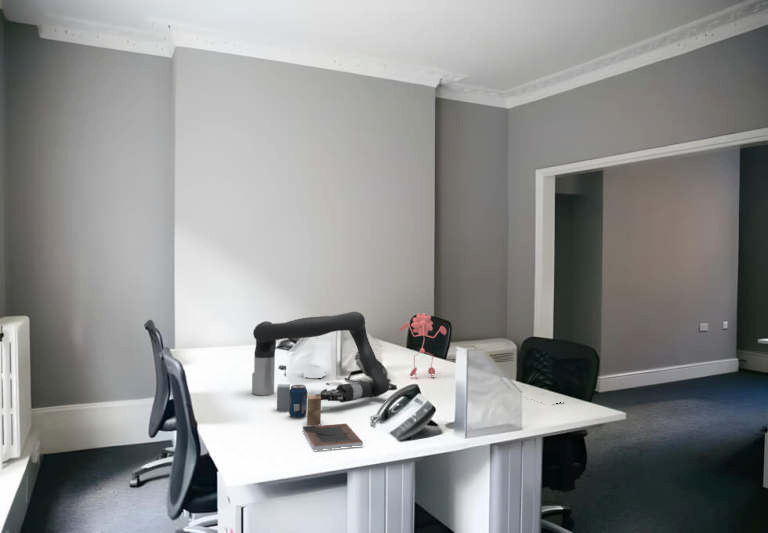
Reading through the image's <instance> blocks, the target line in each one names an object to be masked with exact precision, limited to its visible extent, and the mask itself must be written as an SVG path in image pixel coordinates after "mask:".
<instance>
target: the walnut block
mask: <svg viewBox="0 0 768 533" xmlns="http://www.w3.org/2000/svg"><path fill="white" fill-rule="evenodd" d="M321 410H322V400H321V395H318V394H314V395H307V413H306V426H320V425H321V419H322V414H321V413H322V412H321ZM319 424H320V425H319Z"/></svg>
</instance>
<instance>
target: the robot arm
mask: <svg viewBox="0 0 768 533" xmlns="http://www.w3.org/2000/svg"><path fill="white" fill-rule="evenodd" d="M366 330H367V329H366V320H365V317H364V315H363V313H361V312H358V311H350V312H345V313H341V314H337V315H336V314H335V315H323V316H311V317H302V318H297V319H294V320H289V321H285V322H278V323H275V322H273V323H272V322H271V321H262V322H260V323H258V324H257V325H256V326H255V327H254V329H253V333H252V334H253V338H254V339H255V340H256V341H255V348H254V359H253V361H254V362H253V364H254V365H253V368H254V370H253V371H254V372H252V373H251V382H252V383H251V394H254V395H255V396H270V394H271V395H274V394H275V370H276V369H275V363H276V362H275V361H276V360H275V358H276V357H275V355H276V347H277V346H276V344H277V341H279V340H284V339H287V340H288V339H306V338H307V339H309V338H315V337H321V336H323V335H328V334H329V333H334V332H344V331H348V332H349V333H350V335H351V338H352V339H353V341H354V343H355V346H356V348H357V352H358V356H359V359H360V362H361V366H362V368H363V371H364V372H365V375H366V376H367V377H372V378H373V380H372V381H371V382H368V381H358V382H349V383H342V384H339V385H337V387H336V388H331V389H330V390H328V389H327V388H325V389H322V390H321V391H320V393H319V394H317V395H321V401H327V402H340V403H348V402H353V401H357V400H361V399H365V398H376V397H379V396H382V395H384V394H385V393H387V392H388V391H389V389H390V381H389V379H388V378H387V376H386V375H385V373H384V371H382V369H381V368H380V365H379V362H378V359H377V356H376V355H375V352H374V350H373V348H372V345H371V343H370V341H369V337H368V334H367V331H366Z"/></svg>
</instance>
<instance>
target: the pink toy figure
mask: <svg viewBox="0 0 768 533" xmlns="http://www.w3.org/2000/svg"><path fill="white" fill-rule="evenodd" d="M431 319H432V316H431V315H429V314H427V315H426V313H425V312H423V313H420V312H418V313H417V314H416V316H415V317H413V318H412V323H411V324H410V322H406V323H403V325H402V326H401V327H400V328H399V330H398V331H399V333H401V332H403V331H404V330H406V328H407V327H409V330H410V331H411V334H412V337H414V338H415V337H423V341H422V345H421V348H419V349H420V350H419V352H417V353H416V354H415V355H414V356H413V362H414V363H413V367H414V368H413V369H412V370H411V371H410V373H409V374H410V375H409V376H412V377H413V376H415V377H416V378H417V371H418V368H417V367H416V365H415V364H416V363H415V362H416V360H415V357H416V356H417V355H418V354H419V353H421V354H425V353H426V354H428V355H429V356H431V361H433V358H434V356H433V354H431V353H429V352H426V350H425V348H424V344H425V337H428V338H431V339H434V338H436V336H437V335H438V334H439V332H440V333H441V334H442V335H443V336H445V335H446V334H447V328H445V326H443V325H441V326H440V327H439V329H438V331H437V332H436V333H435V334H434V336H431V335H428V334H429V331H430V332H431V331H433V326H432V325H433V324H434V322H433V321H432V320H431ZM411 327H412V328H413V329H412V328H411ZM414 333H415V334H416V333H417V334H416V335H414ZM430 365H431V366H430V367H428V370H427V372H428V375H429V374H431V375H432V374H434V375H435V374H436V369H435V368H434V367H433V362H431V364H430ZM431 375H430V376H431ZM434 375H432V376H433V377H434ZM432 376H431V377H432Z"/></svg>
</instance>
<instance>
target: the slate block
mask: <svg viewBox="0 0 768 533" xmlns="http://www.w3.org/2000/svg"><path fill="white" fill-rule="evenodd" d="M290 389H291V384H290V383H289V384H282V383H281V384H280V383H279V384H277V387H276V390H277V391H276V412H277V411H279V412H289V399H290Z"/></svg>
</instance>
